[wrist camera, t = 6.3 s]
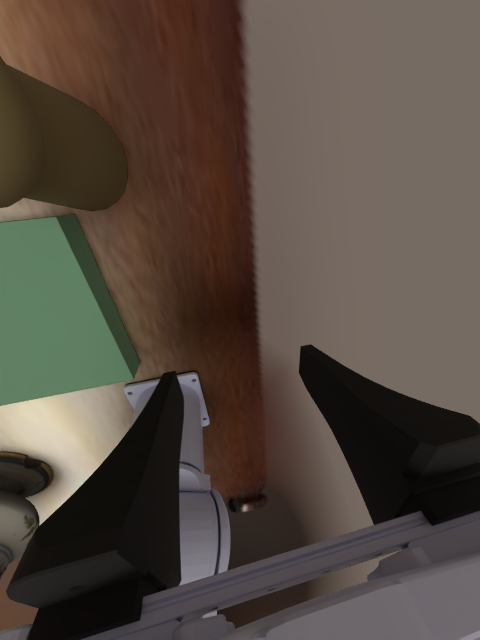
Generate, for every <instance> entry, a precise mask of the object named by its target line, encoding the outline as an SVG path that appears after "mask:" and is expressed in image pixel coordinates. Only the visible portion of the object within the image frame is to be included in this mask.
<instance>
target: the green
mask: <svg viewBox="0 0 480 640" xmlns="http://www.w3.org/2000/svg"><path fill="white" fill-rule="evenodd" d="M139 363H140V362H139V360H138V358H137V355H136V353H135V351H134V349H133V346H132V344H131V342H130V339H129V337H128V335H127V332H126V330H125V328H124V326H123V323H122V321H121V319H120V316H119V314H118V312H117V309H116V307H115V305H114V302H113V300H112V298H111V296H110V293H109V291H108V289H107V286H106V284H105V282H104V279H103V277H102V275H101V273H100V270H99V268H98V266H97V263H96V261H95V259H94V256H93V254H92V252H91V250H90V247H89V245H88V243H87V240H86V238H85V236H84V233H83V231H82V229H81V226H80V224H79V222H78V220H77V217H76V215H75V214H74V215H65V216H55V217H46V218H36V219H27V220H17V221H8V222H0V406H2V405H7V404H12V403H17V402H22V401H27V400H33V399H38V398H43V397H48V396H53V395H58V394H63V393H69V392H74V391H79V390H84V389H89V388H94V387H99V386H104V385H110V384H115V383H120V382H125V381H130V380H134V378H135V375H136V372H137V369H138V366H139Z"/></svg>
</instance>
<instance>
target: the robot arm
mask: <svg viewBox="0 0 480 640" xmlns="http://www.w3.org/2000/svg"><path fill="white" fill-rule="evenodd" d="M299 374H300V376H301V378H302V380H303V383H304V385H305V387H306V388H307V390H308V392H309V393H310V395H311V397H312V399H313V400H314V402H315V403H316V405H317V407H318V408H319V410H320V411H321V413H322V414H323V416H324V418H325V419H326V421H327V423H328V425H329V426H330V428H331V430H332V432H333V434H334V436H335V438H336V440H337V442H338V444H339V446H340V448H341V450H342V452H343V454H344V456H345V458H346V460H347V463H348V465H349V467H350V469H351V472H352V474H353V476H354V478H355V480H356V483H357V485H358V487H359V489H360V492H361V494H362V497H363V499H364V501H365V504H366V506H367V509H368V511H369V514H370V516H371V518H372V521H373V524H374V525H373V526H370V527H367V528H363V529H360V530H357V531H354V532H351V533H347V534H344V535H341V536H338V537H335V538H331V539H328V540H325V541H322V542H318V543H315V544H312V545H309V546H305V547H302V548H299V549H296V550H293V551H289V552H286V553H283V554H280V555H277V556H274V557H270V558H267V559H264V560H260V561H257V562H254V563H251V564H248V565H244V566H241V567H238V568H235V569H231V570H228V571H227V568H228V562H229V554H230V525H229V518H228V513H227V509H226V506H225V504H224V502H223V499H222V497H221V495H220V493H219V492H218V491H217V490H215V489H211V488H210V475H207V474H204V458H203V431H202V427H203V426H207V425H209V424H210V420H209V416H208V413H207V409H206V405H205V401H204V397H203V393H202V390H201V386H200V382H199V378H198V374H197V373H196V372H190V373H185V374H180V375H177V374H176V371H172V372H167V373H164V374H163V375H162V377H161V378H160V379H155V380H150V381H145V382H140V383H135V384H129V385H126V386H125V387H124V393H125V395H126V396H127V398H128V400H129V402H130V404H131V406H132V408H133V410H134V414H133V417H132V421H131V425H130V428H129V431H128V432H127V433H126V435H125V436H124V437H123V439H122V440H121V441H120V442H119V444H118V445H117V446H116V447H115V449H114V450H113V451H112V452H111V453H110V455H109V456H108V457H107V458H106V459H105V461H104V462H103V463H102V464H101V465H100V466H99V467H98V469H97V470H96V471H95V472H94V473H93V474H92V475H91V476H90V477H89V478H88V479H87V480H86V481H85V482H84V483H83V485H82V486H81V487H80V488H79V489H78V490H77V491H76V492H75V493H74V494H73V495H72V496H71V497H70V498H69V499H68V500H67V501H66V502H65V503H63V504H62V505H61V506H60V507H59V508H58V509H57V510H56V511H55V512H54V513H53V514H52V515H51V516H50V517H49V518H48V519H46V520H45V521H44V522H43V523H42V524H41V525H40V526H39V527H38V528H37V529H36V530H35V532H34V534H33V536H32V538H31V540H30V541H29V543H28V545H27V547H26V550H25V552H24V554H23V556H22V558H21V560H20V562H19V564H18V567H17V569H16V571H15V573H14V575H13V577H12V579H11V582H10V584H9V586H8V588H7V590H6V592H7V595H8V597H9V599H11V600H14V601H16V602H19V603H23V604H26V605H29V606H33V607H36V608H39V609H38V612H37V615H36V617H35V620H34V623H33V624H28V625H21V626H17V627H14V628H10V629H7V630H4V631H0V640H474V639H477V638H479V637H480V424H479V423H478V422H477V421H476V420H474V419H473V418H472V417H471V416H468V415H465V414H461V413H458V412H454V411H450V410H447V409H444V408H440V407H437V406H434V405H431V404H428V403H425V402H422V401H419V400H416V399H414V398H411V397H408V396H406V395H403V394H401V393H398V392H396V391H393V390H391V389H388V388H386V387H384V386H382V385H380V384H378V383H375V382H373V381H371V380H369V379H367V378H365V377H363V376H361V375H360V374H358V373H356V372H354V371H352V370H350V369H349V368H347V367H345V366H344V365H342V364H340V363H339V362H337V361H336V360H334V359H332V358H331V357H329V356H328V355H326V354H325V353H323V352H322V351H320V350H318V349H317V348H315V347H314V346H312V345H306V346H301V350H300V365H299ZM192 379H195V380H192ZM130 392H132V393H130ZM402 549H403V550H402ZM399 550H401V551H399ZM396 551H399V552H397V553H395V554H393V555H391V556H389V557H387V558H384V559H382V560H380V561H379V566H378V567H377V568H376V569H375V570H374V571H373V572H372V573H370V574H369V575H368V577H367V579H368V581H367V582H364V583H361V584H357V585H354V586H351V587H348V588H344V589H341V590H338V591H335V592H332V593H329V594H326V595H323V596H320V597H318V598H315V599H312V600H309V601H306V602H304V603H301V604H298V605H296V606H293V607H290V608H287V609H285V610H282V611H280V612H277V613H275V614H272V615H270V616H267V617H265V618H262V619H259V620H257V621H254V622H252V623H249V624H247V625H245V626H242V627H240V628H237V629H234V624H233V623H232V622H226V617H225V616H224V615H223V614H221V615H217V610H220V609H223V608H226V607H229V606H232V605H235V604H238V603H241V602H245V601H247V600H250V599H253V598H257V597H259V596H263V595H265V594H269V593H272V592H275V591H277V590H281V589H284V588H287V587H289V586H293V585H296V584H299V583H302V582H305V581H308V580H311V579H314V578H317V577H320V576H323V575H326V574H329V573H332V572H335V571H338V570H341V569H344V568H347V567H350V566H353V565H356V564H359V563H362V562H365V561H368V560H372V559H375V558H377V557H380V556H384V555H386V554H390V553H393V552H396Z"/></svg>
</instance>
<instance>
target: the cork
mask: <svg viewBox="0 0 480 640" xmlns="http://www.w3.org/2000/svg"><path fill="white" fill-rule="evenodd" d="M127 179H128V171H127V160H126V157H125V154H124V151H123V148H122V145H121V143H120V141H119V139H118V138H117V136H116V134H115V133H114V131H113V130H112V128H111V126H110V125H109V124H108V123H107V122H106V121H105V120H104V119H103V118H102V117H101V116H100V115H99V114H98V113H97V112H96V111H95V110H94V109H92V108H91V107H89V106H87V105H86V104H84V103H83V102H81V101H79V100H78V99H76V98H74V97H72V96H70V95H68V94H66V93H64V92H62V91H60V90H58V89H56V88H54V87H51V86H49V85H47V84H45V83H43V82H41V81H39V80H37V79H35V78H33V77H31V76H29V75H27V74H25V73H23V72H21V71H19V70H17V69H15V68H13V67H11V66H9V65H7V64H6V63H5V62H4V61H3V59H2V58H1V57H0V208H3V207H9V206H11V205H12V204H14V203H16V202H18V201H19V200H21V199H22V198H28V199H33V200H37V201H42V202H47V203H52V204H57V205H62V206H67V207H72V208H77V209H82V210H88V211H96V210H102V209H106V208H108V207H110V206H111V205H113V204H115V203H117V201H118V200H119V198H120V197H121V196H122V194H123V193H124V191H125V187H126V183H127Z"/></svg>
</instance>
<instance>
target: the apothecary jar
mask: <svg viewBox="0 0 480 640" xmlns="http://www.w3.org/2000/svg"><path fill="white" fill-rule="evenodd" d="M52 480H53V472H52V470H51V468H50V467H49V466H48V465H47V464H45V463H44V462H42V461H36V460H31V459H29V458H28V457H27V456H26V455H22V454H17V453H10V452H0V579H1V577H2V575H3V573H4V572H5V570H6V568H7V566H8V564H10V563H11V562H12V561H14V560H15V559H16V558H17V557H19V556H20V555H21V554H22V553H23V552H24V551H25V550H26V547H27V545H28V543H29V541H30V540H31V538H32V536H33V534H34V532H35V530H36V529H37V528H38V527H39V515H38V512H37V510H36V508H35V506H34V505H33V504H32V503H31V502H30V501H28V500H27V499H25V497H29V496H32V495H35V494H37V493H39V492H41V491H42V490H44V489H45V488H47V487H48V486H49V485H50V483H51V482H52Z"/></svg>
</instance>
